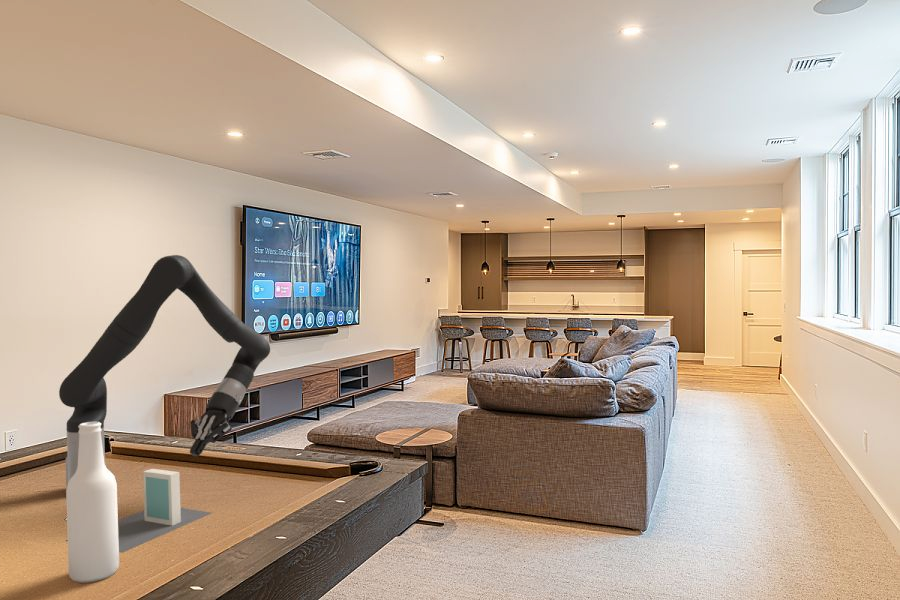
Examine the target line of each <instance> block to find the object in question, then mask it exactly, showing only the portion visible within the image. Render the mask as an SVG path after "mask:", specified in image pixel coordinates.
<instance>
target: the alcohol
mask: <svg viewBox="0 0 900 600" xmlns="http://www.w3.org/2000/svg"><path fill="white" fill-rule="evenodd" d="M78 427H79V431H78V433H79V452H78V467H77V470H76V473H75V474H74V475H73V476H72V478H71V479H70V481H69V482H68V486H67V487H66V491H65V495H66V497H65V498H66V499H65V500H66V528H67V530H66V531H67V540H68V541H67V558H68V559H67V560H68V576H69V578H70V579H71V580H72V581H73V582H75V583H80V584H81V583H82V584H85V583H87V584H88V583H94V582H99V581H102V580H104V579H106V578H107V579H108V578H110V577H111V576H113V575H114V574H115V573H116V572H117V570H118V569H119V567H120V552H119V541H118V520H119V516H118V514H119V512H118V511H119V509H118V484H117V480H116V476H115V475H114V474H113V473H112V472H111V470H109V469H108V468H107V466H106V462H105V463H104V455H103V447H102V439H101V431H102V429H101V423H100V422H86V423H82V424H80V425H79V426H78Z"/></svg>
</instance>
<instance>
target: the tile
mask: <svg viewBox="0 0 900 600" xmlns="http://www.w3.org/2000/svg"><path fill="white" fill-rule="evenodd" d="M142 475H143V479H142V480H143V503H144V504H143V508H144V517H145V521H149V522H155V523H160V524H166V525H172V526H173V525H175V524H177V523H179V522H181V509H180V508H181V484H180V483H181V479H180V477H181V473H180V471H173V470H166V469H159V468H150V469H146V470H143V472H142Z"/></svg>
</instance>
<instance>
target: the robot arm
mask: <svg viewBox="0 0 900 600" xmlns="http://www.w3.org/2000/svg"><path fill="white" fill-rule="evenodd" d="M176 290H179V292H182V293H183V294H184V295H186V297H188V298H189V299H190V301H191V302H192V303H193V304H194V305H195V307H196V308H197V309H198V311H199V312H200V314H201V315H202V316H203V318H204V320H205V321H206V322H207V323H208V325H209V326H210V327H211V328H212V329H213V330H214V331H215V332H216V333H217V334H218V335H219V336H220V337H221V338H222V339H223V340H224V341H226V342H227V343H229V344H230V343H235V344H237V345H239V346H240V348H239V350H238V352H237V353H236V355H235V357H234V359H233V362H232V365H231V366H230V368H229V369H228V370H227V372H226V373H225V375H224V377H223V378H222V380H221V381H220V382H219V384H218V385H217V387H216V388H215V390H214V392H213V394H211V396H210V398H209V400H208V402H207V404H206V405H205V411H204V413H203V414H202V415H201V416H200V418H199V419H197V420H195V419H192V420H190V422H189V423H190V432H191V433H190V436H191V437H192V438H193V439H194V442H193V444H192V445H191V447H190V449H189V453H190V455H192V456H193V457H200V456H201V454H202V453H203V451H204V450H205V448H206V446H207V445H209V444H211V443H212V444H214V443H216V442H218V441H219V440H220V439H222V438H223V437H224V436H225V435H226V434H228V433H230V432H231V431H232V430H233V428H232V426H231V425H229V422H230V420H231V419H233V417H234V415H235V414H236V412H237V410H238V408H239V407H240V405H241V403H242V401H243V399H244V397H245V394H246V392H247V390H248V389H249V387H250V385H251V383H252V382H253V379H254V377H255V376H254V375H255V372H256V370H257V368H258V366H259V365H260V364H261V363H262V362H263V361H264V360H265V359H266V358H267V357H268V356H269V355H270V353H271V345H270V343H269V341H268V340H267V339H266V338H265V336H263V334H261V333H259V332H258V331H256V330H255V329H253V328H252V327H250V326H249V325H246V324H245V323H244V322H243V320H241V319H240V318H239V316H237V315H236V314H235V313H234V312H233V311H232V310H231V309H230V308H229V307H228V306H227V305H226V304H225V303H224V302H223V301H222V300H221V299H220V298H219V297H218V296H217V295H216V294H215V292H214V291H213V290H212V289H211V288H210V287H209V285H208V284H207V283H206V282H205V281H204V279H203V278H202V276H201V275H200V274H199V272H198V271H197V270H196V268H195V267H194V265H193V264H192V263H191V262H190V260H189V259H188V258H186V257H185V256H183V255H179V254H173V255H167V256H166V255H165V256H163V257H160V258H159V259H158V260H156V262H155V263H154V265H152V267H151V269H150V271H149V273H148V274H147V275H146V278H145V279H144V280H143V282H142V284H141V285H140V287H139V289H138V290H137V292H136V293H134V295H133V296H132V297H131V298H130V299H129V301H128V302H127V303H126V304H124V306H123V307H122V309H121V310H120V311H119V312H118V313H117V315H116V316H115V317H114V318H113V320H112V321H111V322H110V324H108V326H107V327H106V329H105V330H104V332H103V333H102V334H101V336H100V337H99V339H98V340H97V341H96V342H95V344H94V345H93V346H92V347H91V349H90V351H89V352H88V353H87V355H86V356H85V357H84V358H83V359H82V361H81V362H80V363H79V364H78V365H77V366H75V368H74V369H73V370H72V371H71V372H70V373H69V374H68V375H67V376H66V377H65V378H64V379H63V381H62V382H61V384H60V386H59V389H58V390H59V391H58V393H59V394H58V395H59V400H60V401H61V403H62V404H63V405H65V406H67V407H69V408H74V409H73V413H72V415H70V418H68V419H67V422H66V447H67V448H66V449H67V456H66V457H65V482H66V483H65V484H66V485H65V486H66V487H65V488H67V486H68V482H69V481H70V479H71V478H72V476H73V475H74V474H75V473H76V470H77V467H78V452H79V433H78V431H79V427H78V426H79V425H80V424H82V423H86V422H100V423H101V429H102V431H101V439H102V447H103V455H104V463H105V464H106V456H105V454H106V453H105V449H106V448H105V428H104V427H105V424H104V423H105V420H106V416H107V411H108V410H107V407H108V406H107V405H108V389H107V388H108V387H107V384H106V383H107V382H106V380H105V376H106V375H107V374H108V373H109V372H110V371H111V370H112V368H114V367H116V366H117V365H118V364H119V363H120V362H121V361H123V360H124V359H126V358H127V357H128V356H129V355H130V354H131V353H132V352H133V351H134V350H135V349H136V348H137V347H138V346H139V345H140V343H141V342H142V341H143V339H144V338H145V337H146V336H147V334H148V332H149V331H150V329H151V327H152V326H153V324H154V322H155V319H156V316H157V314H158V312H159V310H160V309H161V307H162V305H163V304H164V303H165V302H166V301H167V300H168V299H169V297H170V296H171V295H172V294H173V293H175V291H176Z"/></svg>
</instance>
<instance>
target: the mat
mask: <svg viewBox="0 0 900 600" xmlns="http://www.w3.org/2000/svg"><path fill="white" fill-rule="evenodd" d="M180 509H181V522H179V523H177V524H175V525H173V526H172V525H166V524H160V523H155V522H149V521H145V517H144V510H141V511H138V512H135V513H133V514H131V515H128V516H125V517H123V518H121V519H118V541H119V553H125V552H128V551H130V550H132V549H134V548H136V547H139V546H140V545H144V544H145V543H147V542H150V541H152V540H154V539H156V538H159V537H161V536H164V535H167V534H168V533H170V532H173V531H175V530H177V529H180V528H182V527H184V526H186V525H188V524H190V523H193V522H195V521H197V520H200V519H202V518H205V517H206V516H208V515H211V514H212V512H211V511H205V510H198V509H192V508H191V509H190V508H186V507H180ZM65 542H68V539H67V540H65Z"/></svg>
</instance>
